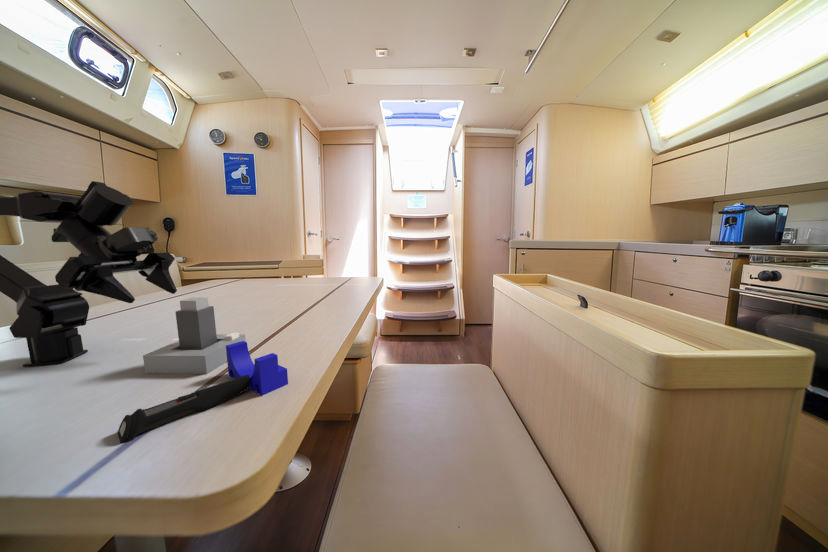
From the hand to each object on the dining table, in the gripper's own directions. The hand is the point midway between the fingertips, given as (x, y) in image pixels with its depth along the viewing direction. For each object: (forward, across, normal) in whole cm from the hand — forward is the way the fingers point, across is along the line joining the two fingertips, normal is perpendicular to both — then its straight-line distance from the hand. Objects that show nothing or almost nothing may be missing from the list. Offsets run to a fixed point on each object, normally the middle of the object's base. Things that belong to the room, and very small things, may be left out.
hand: (155, 296), depth 59 cm
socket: (+15, 0, +4) cm, 16 cm away
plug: (+15, 0, +4) cm, 16 cm away
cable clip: (+27, -8, -8) cm, 30 cm away
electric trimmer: (+24, -18, -5) cm, 30 cm away
